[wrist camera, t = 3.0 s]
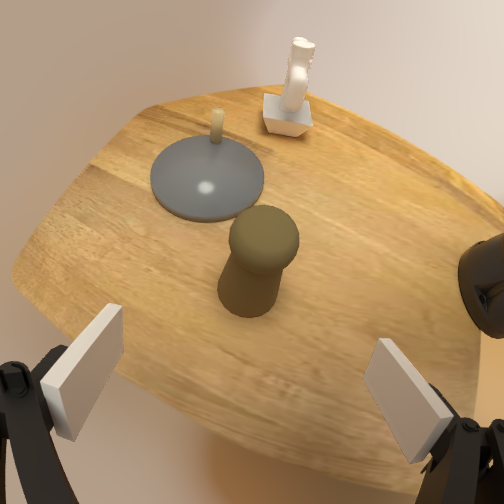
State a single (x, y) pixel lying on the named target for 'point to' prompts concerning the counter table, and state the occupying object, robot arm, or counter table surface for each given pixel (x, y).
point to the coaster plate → (207, 176)
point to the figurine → (291, 94)
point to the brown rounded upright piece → (257, 260)
